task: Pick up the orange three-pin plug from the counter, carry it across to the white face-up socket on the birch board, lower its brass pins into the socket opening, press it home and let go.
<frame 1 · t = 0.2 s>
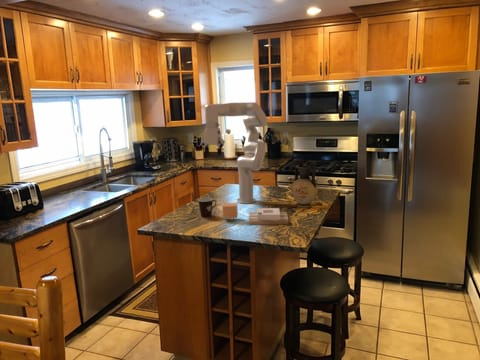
hand: (213, 154, 233), 37 cm above the countertop, tool pointing down, fingers open, 9 cm apart
socket: (268, 216, 224), resting on board
amphora: (304, 205, 253), on the countertop
board: (268, 219, 225), on the countertop
coffee mug: (208, 215, 236), on the countertop
plug: (230, 219, 227), on the countertop
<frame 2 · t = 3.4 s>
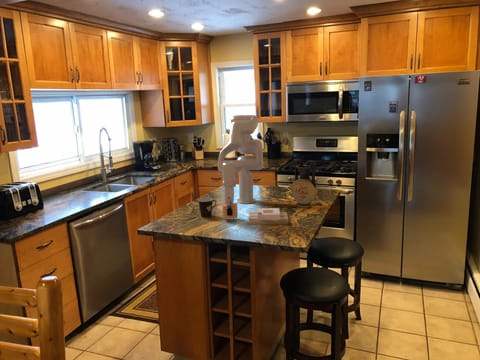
hand: (230, 213, 226), 4 cm above the countertop, tool pointing down, fingers closed on plug, 6 cm apart
plug: (230, 219, 227), on the countertop, touching gripper
everything else where it was.
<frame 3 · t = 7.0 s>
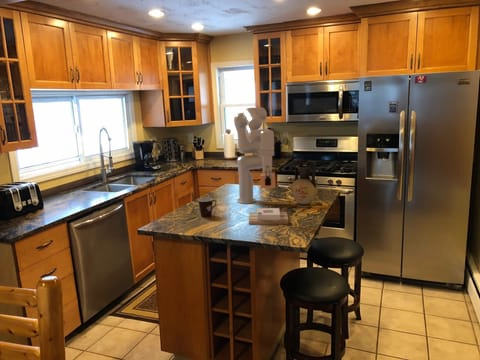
hand: (267, 183, 220), 21 cm above the countertop, tool pointing down, fingers closed on plug, 6 cm apart
plug: (267, 190, 221), point 18 cm above the countertop, touching gripper
everything else where it was.
when the fingers open (7 cm above the countertop, at t = 10.5 s): plug stays where it is, resting on socket.
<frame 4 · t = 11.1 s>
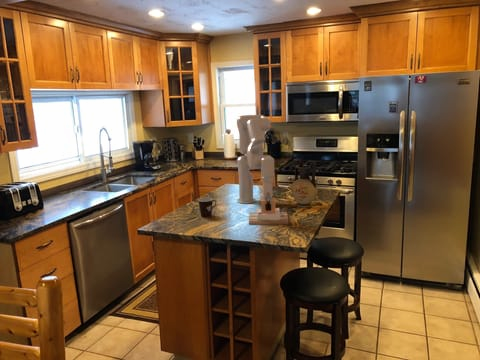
hand: (268, 208, 223), 7 cm above the countertop, tool pointing down, fingers open, 9 cm apart
plug: (268, 214, 224), point 3 cm above the countertop, touching socket
everything else where it was.
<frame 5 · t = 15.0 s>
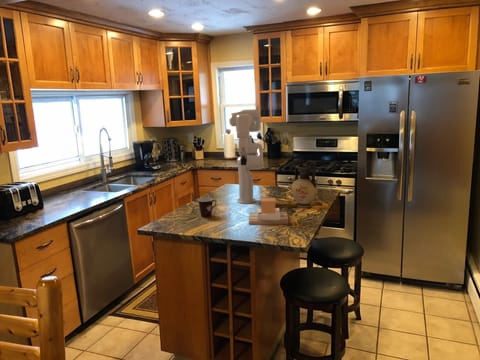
hand: (243, 163, 236), 30 cm above the countertop, tool pointing down, fingers open, 9 cm apart
nothing on the countertop moved.
at the end: plug 0.1 cm off-centre on the socket, point 1.0 cm above the socket's base; plug tilted 0°; the gripper is holding nothing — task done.
